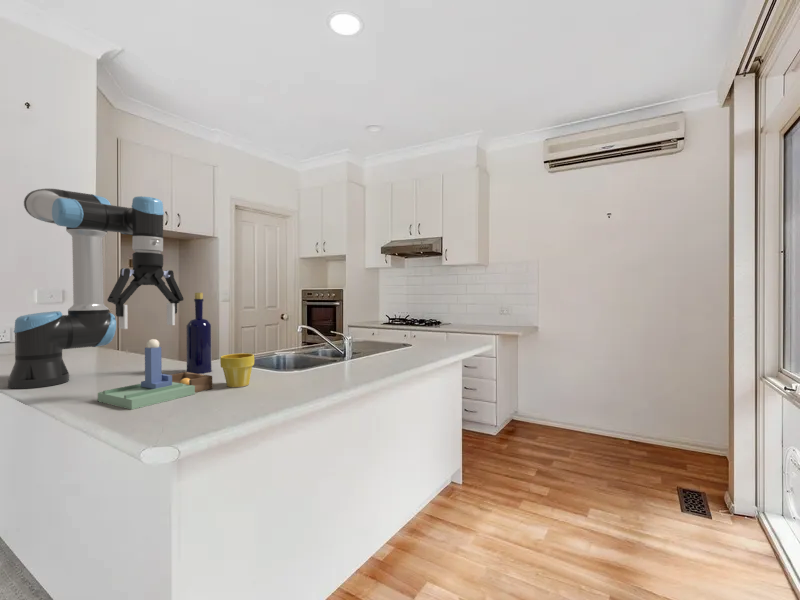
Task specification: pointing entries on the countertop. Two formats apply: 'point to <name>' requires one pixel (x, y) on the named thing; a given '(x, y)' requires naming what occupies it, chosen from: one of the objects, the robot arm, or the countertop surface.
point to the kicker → (154, 367)
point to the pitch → (144, 395)
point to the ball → (185, 381)
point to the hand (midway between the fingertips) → (148, 326)
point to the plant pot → (237, 368)
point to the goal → (194, 380)
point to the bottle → (199, 341)
